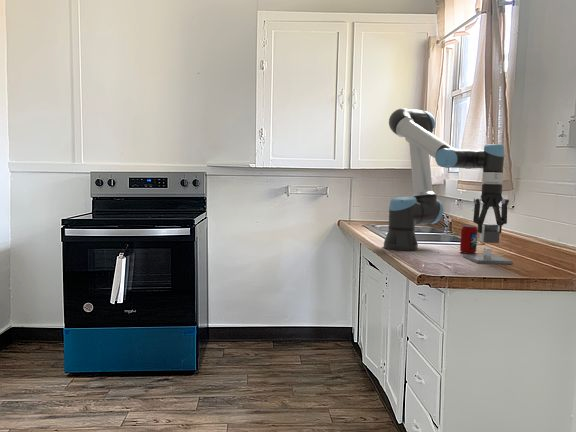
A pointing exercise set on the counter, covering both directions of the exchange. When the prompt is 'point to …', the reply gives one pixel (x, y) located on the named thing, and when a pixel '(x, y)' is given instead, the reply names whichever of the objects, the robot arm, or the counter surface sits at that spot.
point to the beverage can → (468, 239)
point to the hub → (487, 258)
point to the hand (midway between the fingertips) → (488, 241)
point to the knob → (491, 234)
